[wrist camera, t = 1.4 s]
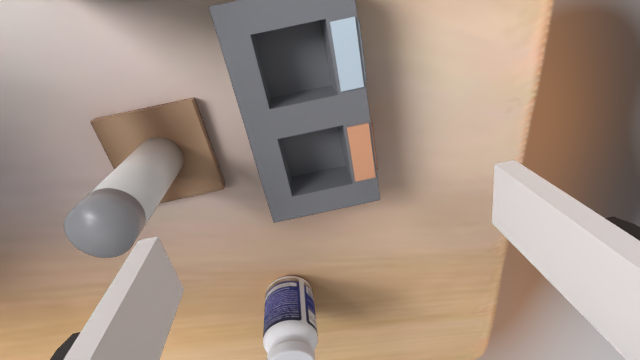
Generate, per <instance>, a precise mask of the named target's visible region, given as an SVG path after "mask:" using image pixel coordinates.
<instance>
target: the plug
mask: <svg viewBox="0 0 640 360" xmlns="http://www.w3.org/2000/svg"><path fill="white" fill-rule="evenodd" d="M183 163H184V158H183V154H182V151H181V150H180V148H179V147H178V146H177V145H176V144H175V143H174V142H172V141H171V140H168V139H166V138H162V137H153V138H150V139H147V140H146V141H144V142H143V143H142V144H141V145H140V146H139V147H138V148H137V149H136V150H135V151H134V152H133V153H131V154H130V155H129V156H128V157H127V158H126V159H125V160H124V161H123V162H122V163H121V164H120V165H119V166H118V167H117V168H116V169H115V170H113V171H112V172H111V173H110V174H109V175H108V176H107V177H106V178H105V179H104V180H103V181H102V182H101V183H100V184H99V185H98V186H97V187H96V188H94V189H93V190H92V191H91V192H90V193H89V194H88V195H87V196H86V197H85V198H84V199H83V200H82V201H81V202H80V203H79V204H78V205H77V206H75V207H74V208H73V209H72V210H71V211H70V212H69V213H68V215H67V216H66V218H65V221H64V230H65V233H66V236H67V237H68V239H69V240H70V242H71V243H72V244H73V245H74V246H75V247H76V248H78V249H79V250H81V251H82V252H84V253H86V254H89V255H92V256H95V257H101V258H111V257H116V256H120V255H122V254H124V253H125V252H127V251H128V250H129V249H130V248H131V246H132V245H133V243H134V242H135V240H136V239H137V237H138V235H139V234H140V232H141V231H142V229H143V228H144V226H145V225H146V223H147V221H148V220H149V218H150V217H151V215H152V214H153V212H154V211H155V209H156V207H157V206H158V204H159V203H160V201H161V200H162V198H163V196H164V195H165V193H166V192H167V190H168V189H169V187H170V186H171V184H172V182H173V181H174V179H175V178H176V176H177V175H178V173H179V171H180V170H181V168H182V166H183Z"/></svg>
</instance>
